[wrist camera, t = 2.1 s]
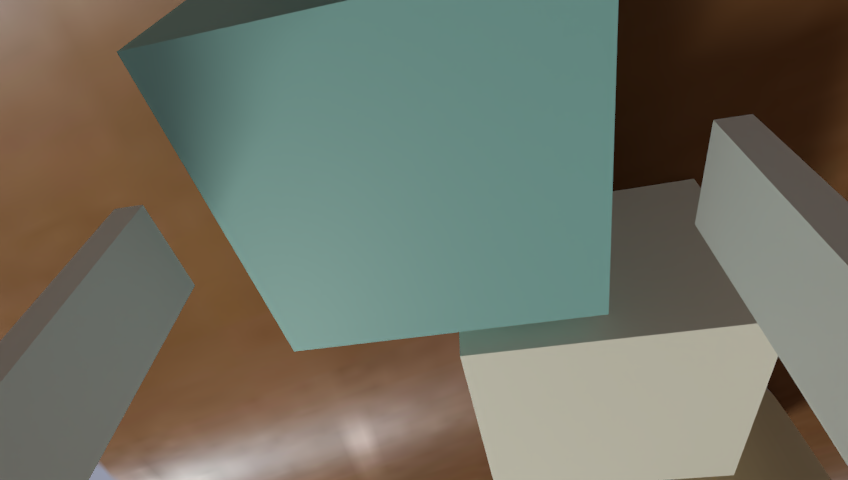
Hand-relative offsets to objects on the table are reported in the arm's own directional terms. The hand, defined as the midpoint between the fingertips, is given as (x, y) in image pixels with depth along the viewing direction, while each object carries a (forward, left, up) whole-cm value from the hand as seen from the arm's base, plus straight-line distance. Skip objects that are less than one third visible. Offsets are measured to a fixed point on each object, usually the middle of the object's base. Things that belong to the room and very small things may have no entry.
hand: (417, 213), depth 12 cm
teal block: (0, 0, -7) cm, 7 cm away
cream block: (+10, +5, -7) cm, 13 cm away
